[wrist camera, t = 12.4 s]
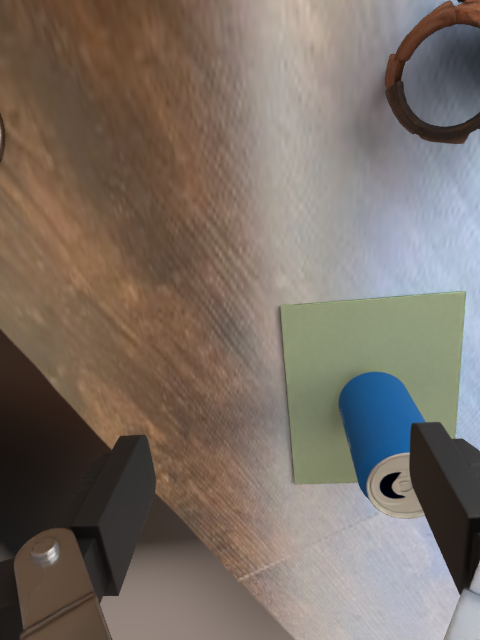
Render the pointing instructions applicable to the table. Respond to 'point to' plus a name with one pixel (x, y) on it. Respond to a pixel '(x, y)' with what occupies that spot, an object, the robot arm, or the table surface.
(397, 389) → the beverage can
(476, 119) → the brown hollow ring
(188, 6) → the table surface
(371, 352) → the desk mat
